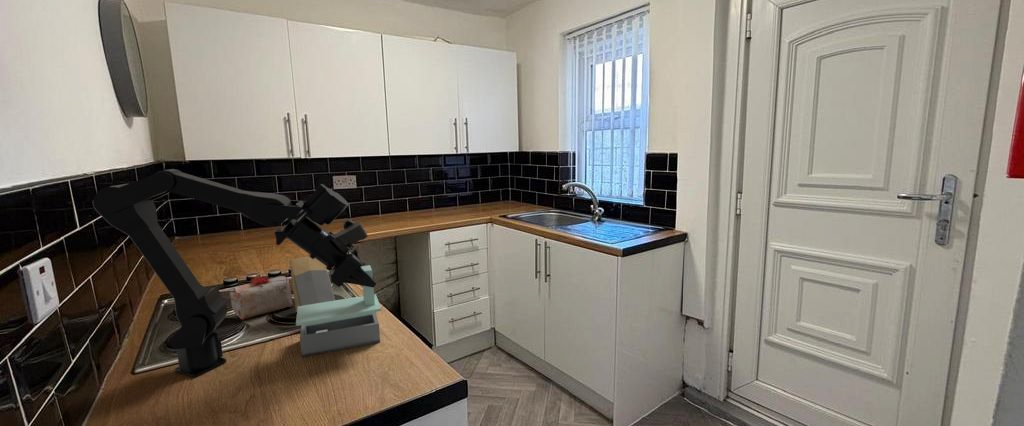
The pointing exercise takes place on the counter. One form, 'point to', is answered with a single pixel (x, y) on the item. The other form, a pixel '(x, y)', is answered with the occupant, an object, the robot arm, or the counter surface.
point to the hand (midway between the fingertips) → (373, 282)
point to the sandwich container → (310, 282)
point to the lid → (340, 307)
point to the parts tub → (339, 335)
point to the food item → (261, 296)
